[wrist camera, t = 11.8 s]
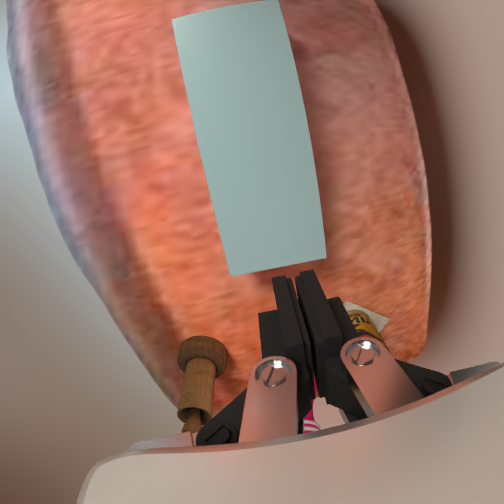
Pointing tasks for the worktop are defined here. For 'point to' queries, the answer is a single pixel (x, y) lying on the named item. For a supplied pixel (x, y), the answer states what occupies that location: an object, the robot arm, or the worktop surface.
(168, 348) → the worktop surface
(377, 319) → the condiment
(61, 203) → the worktop surface
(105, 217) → the worktop surface
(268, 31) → the cover
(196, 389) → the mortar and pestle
